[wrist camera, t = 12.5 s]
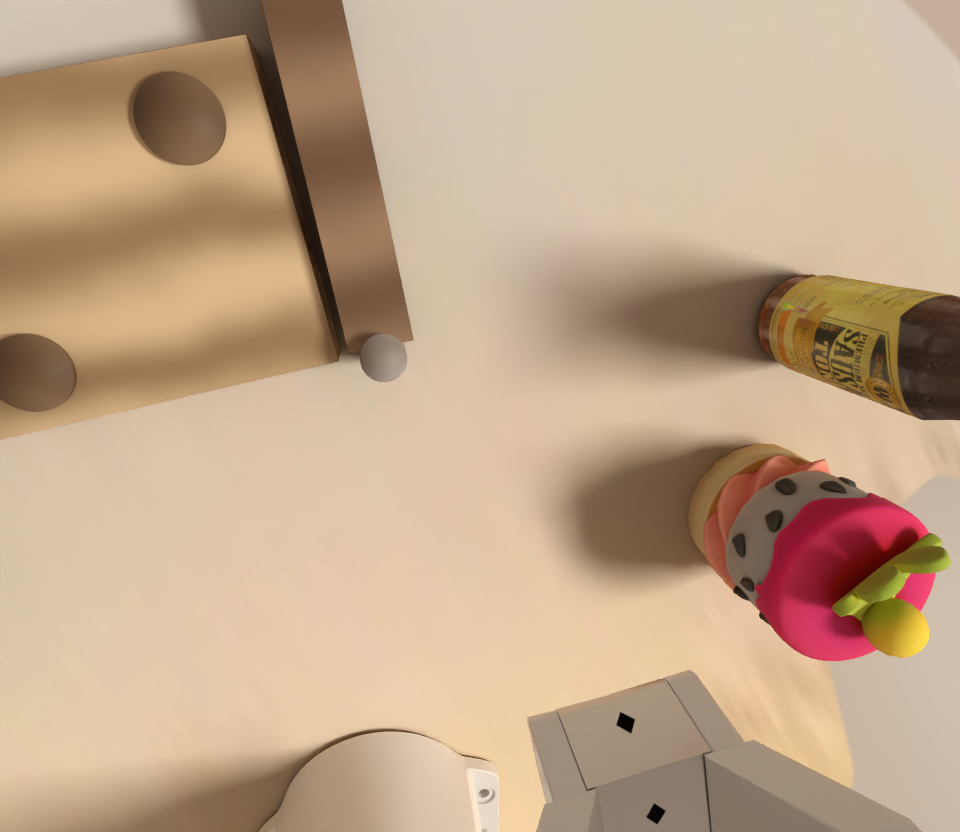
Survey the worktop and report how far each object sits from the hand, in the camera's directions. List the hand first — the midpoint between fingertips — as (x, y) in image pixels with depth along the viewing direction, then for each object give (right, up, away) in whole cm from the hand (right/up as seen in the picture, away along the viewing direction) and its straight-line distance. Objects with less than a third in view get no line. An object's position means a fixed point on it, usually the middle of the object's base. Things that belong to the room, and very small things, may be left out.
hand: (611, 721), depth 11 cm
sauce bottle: (+19, +12, +31) cm, 38 cm away
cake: (+18, -1, +35) cm, 39 cm away
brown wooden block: (-10, +18, +23) cm, 31 cm away
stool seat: (-21, +14, +23) cm, 34 cm away
